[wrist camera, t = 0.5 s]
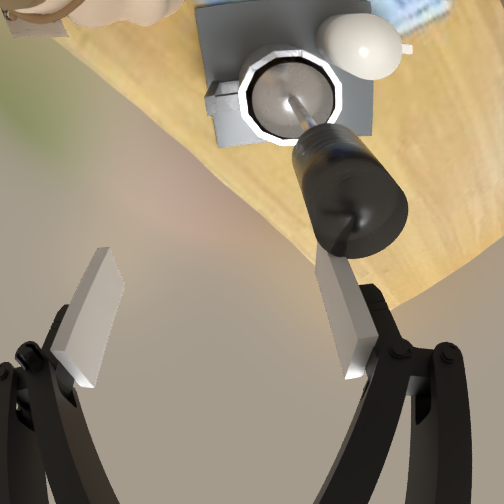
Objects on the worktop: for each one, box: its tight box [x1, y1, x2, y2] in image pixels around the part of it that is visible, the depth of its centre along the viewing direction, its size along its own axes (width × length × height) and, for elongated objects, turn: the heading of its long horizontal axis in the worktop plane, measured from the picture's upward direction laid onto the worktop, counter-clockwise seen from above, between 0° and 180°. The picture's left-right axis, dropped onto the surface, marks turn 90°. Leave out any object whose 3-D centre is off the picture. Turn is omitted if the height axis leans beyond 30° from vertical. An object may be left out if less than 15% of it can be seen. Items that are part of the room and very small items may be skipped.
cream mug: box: [315, 13, 412, 80], centre depth 28 cm, size 8×10×9 cm
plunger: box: [252, 62, 408, 259], centre depth 19 cm, size 7×7×19 cm
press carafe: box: [204, 43, 342, 146], centre depth 31 cm, size 10×13×12 cm
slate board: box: [195, 0, 373, 148], centre depth 35 cm, size 20×22×1 cm
